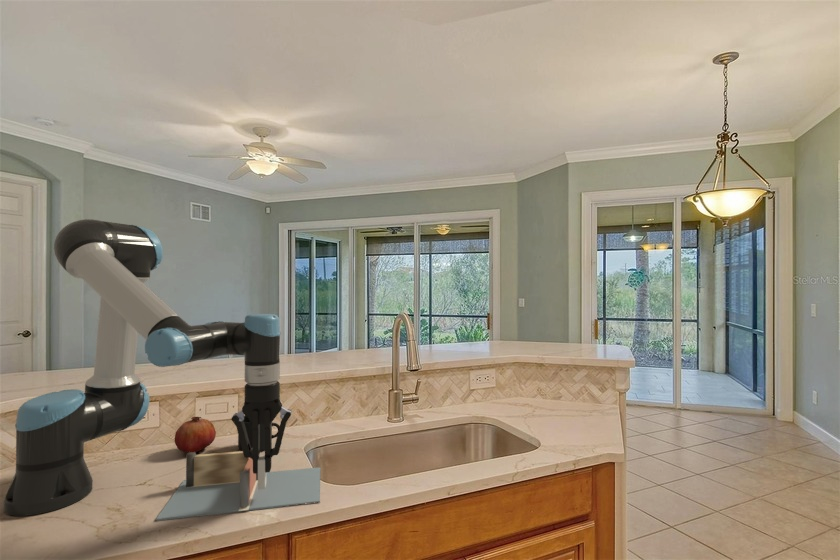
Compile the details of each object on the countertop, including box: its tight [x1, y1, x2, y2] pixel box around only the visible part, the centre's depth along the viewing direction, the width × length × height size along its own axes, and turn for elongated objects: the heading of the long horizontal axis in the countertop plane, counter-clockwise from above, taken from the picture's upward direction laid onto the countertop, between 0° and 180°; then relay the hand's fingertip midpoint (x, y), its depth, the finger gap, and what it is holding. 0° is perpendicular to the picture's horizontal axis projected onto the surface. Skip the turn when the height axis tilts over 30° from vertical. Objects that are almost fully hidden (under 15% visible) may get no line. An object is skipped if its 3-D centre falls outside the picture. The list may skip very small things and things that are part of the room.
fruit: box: [174, 416, 217, 453], centre depth 124 cm, size 11×10×10 cm
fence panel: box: [240, 458, 256, 508], centre depth 97 cm, size 13×2×7 cm, turn 13°
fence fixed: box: [185, 448, 258, 487], centre depth 103 cm, size 16×2×8 cm, turn 103°
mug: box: [237, 415, 280, 453], centre depth 127 cm, size 9×12×9 cm
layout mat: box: [155, 466, 321, 522], centre depth 99 cm, size 33×18×1 cm, turn 103°
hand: (262, 486), depth 95 cm, fingers closed
